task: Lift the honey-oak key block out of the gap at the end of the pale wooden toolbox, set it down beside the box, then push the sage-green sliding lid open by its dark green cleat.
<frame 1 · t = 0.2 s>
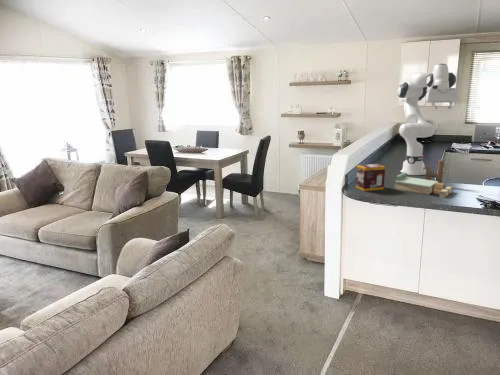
hand: (442, 108, 254), 52 cm above the worktop, tool tilted 20°, fingers open, 8 cm apart
oak key: (438, 193, 251), on the worktop
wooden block: (433, 186, 268), on the worktop
supplement box: (369, 188, 264), on the worktop
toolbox: (415, 189, 260), on the worktop
toolbox lid: (416, 179, 258), point 7 cm above the worktop, slide at 0.0 cm
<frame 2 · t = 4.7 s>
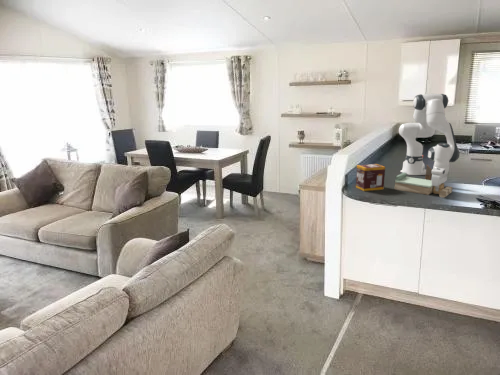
hand: (438, 190, 250), 2 cm above the worktop, tool pointing down, fingers closed on oak key, 4 cm apart
oak key: (438, 193, 251), on the worktop, touching gripper
everything else where it was.
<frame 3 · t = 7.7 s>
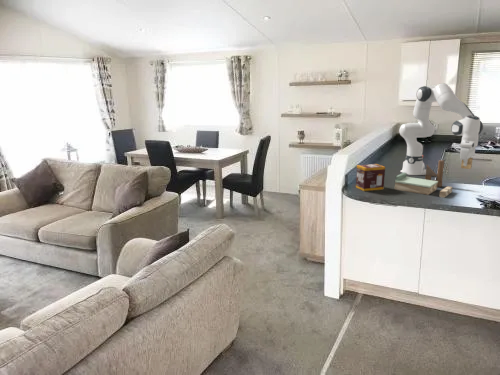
hand: (466, 165, 242), 19 cm above the worktop, tool pointing down, fingers closed on oak key, 4 cm apart
oak key: (466, 168, 242), point 17 cm above the worktop, touching gripper
everything else where it was.
when the fingers open (3 cm above the worktop, at t = 11.1 s): oak key stays where it is, on the worktop.
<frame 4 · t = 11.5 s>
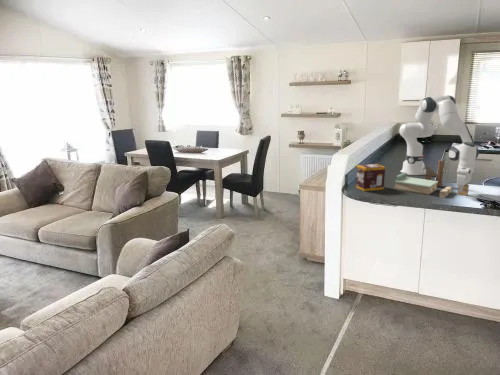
hand: (463, 190, 246), 3 cm above the worktop, tool pointing down, fingers open, 8 cm apart
oak key: (462, 194, 247), on the worktop
everything else where it was.
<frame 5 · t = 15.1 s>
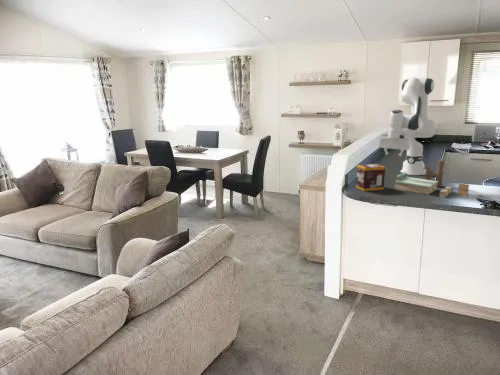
hand: (393, 155, 265), 21 cm above the worktop, tool pointing down, fingers open, 8 cm apart
nothing on the worktop moved.
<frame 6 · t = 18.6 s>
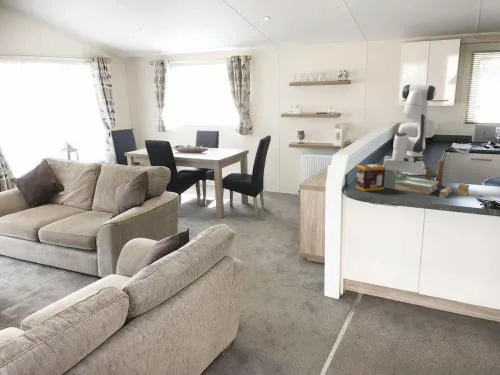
hand: (397, 177, 266), 6 cm above the worktop, tool pointing down, fingers closed
toolbox lid: (417, 179, 258), point 7 cm above the worktop, slide at 0.4 cm, touching gripper
everything else where it was.
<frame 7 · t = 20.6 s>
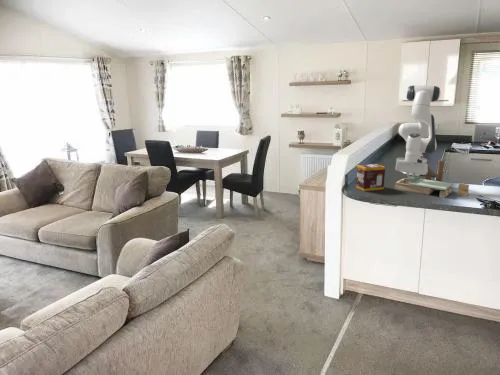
hand: (410, 179, 260), 6 cm above the worktop, tool pointing down, fingers closed
toolbox lid: (430, 181, 252), point 7 cm above the worktop, slide at 9.0 cm, touching gripper
everything else where it was.
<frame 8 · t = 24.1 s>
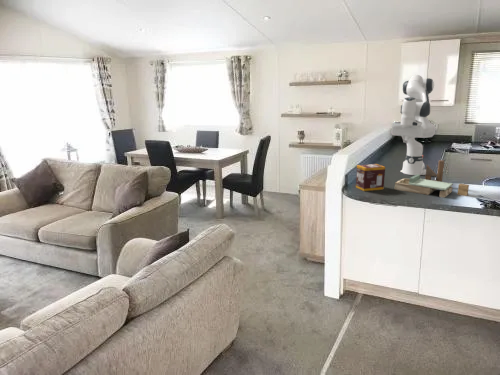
hand: (405, 142, 265), 29 cm above the worktop, tool pointing down, fingers closed
toolbox lid: (430, 181, 252), point 7 cm above the worktop, slide at 9.0 cm
everything else where it was.
at the end: toolbox lid slide at 9.0 cm; oak key inside the target area (0.1 cm from its centre), on the worktop; oak key tilted 0° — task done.
